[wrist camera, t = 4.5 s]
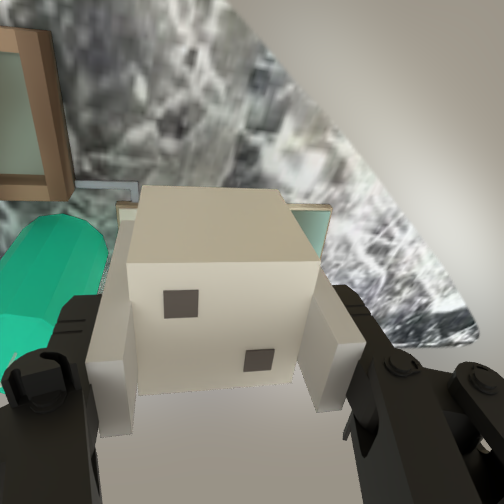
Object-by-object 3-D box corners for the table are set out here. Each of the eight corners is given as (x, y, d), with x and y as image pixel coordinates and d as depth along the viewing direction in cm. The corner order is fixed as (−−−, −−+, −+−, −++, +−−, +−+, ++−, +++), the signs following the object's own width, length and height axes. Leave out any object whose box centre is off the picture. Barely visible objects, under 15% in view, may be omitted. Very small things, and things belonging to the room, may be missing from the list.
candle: (-1, 231, 25) (-116, 371, 15) (79, 200, 25) (15, 320, 15) (52, 292, 28) (-13, 439, 18) (123, 265, 28) (95, 399, 18)
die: (148, 295, 15) (138, 398, 11) (142, 185, 13) (125, 265, 9) (262, 292, 16) (291, 385, 12) (277, 189, 14) (322, 262, 10)
